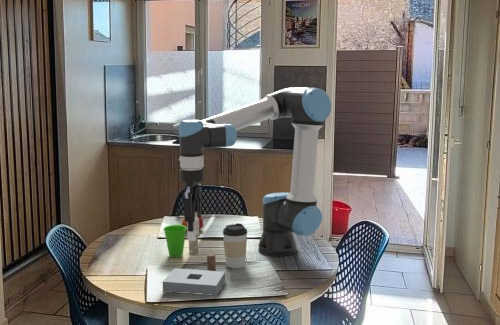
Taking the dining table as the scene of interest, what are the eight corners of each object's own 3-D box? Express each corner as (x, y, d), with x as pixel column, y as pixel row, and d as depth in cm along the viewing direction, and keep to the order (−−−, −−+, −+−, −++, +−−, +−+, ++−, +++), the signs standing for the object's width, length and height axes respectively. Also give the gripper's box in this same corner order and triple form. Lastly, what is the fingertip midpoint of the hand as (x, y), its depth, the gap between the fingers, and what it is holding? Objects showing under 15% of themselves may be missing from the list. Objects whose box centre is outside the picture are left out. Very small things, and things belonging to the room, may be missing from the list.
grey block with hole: (225, 281, 186) (225, 271, 185) (216, 295, 174) (216, 285, 173) (174, 277, 189) (174, 268, 188) (162, 291, 177) (162, 281, 177)
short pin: (216, 270, 196) (216, 254, 195) (214, 273, 193) (214, 257, 192) (208, 269, 196) (208, 253, 195) (206, 272, 194) (205, 256, 192)
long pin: (199, 252, 181) (198, 211, 178) (196, 255, 178) (195, 214, 175) (190, 251, 181) (189, 211, 179) (187, 254, 178) (186, 213, 176)
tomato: (179, 233, 239) (179, 215, 238) (185, 227, 248) (185, 210, 247) (200, 234, 238) (199, 216, 236) (205, 228, 247) (204, 211, 245)
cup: (183, 260, 206) (182, 232, 204) (160, 258, 208) (159, 230, 206) (190, 252, 215) (190, 225, 213) (168, 250, 217) (168, 224, 215)
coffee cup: (238, 271, 195) (238, 230, 192) (218, 266, 200) (217, 227, 197) (252, 263, 203) (252, 224, 200) (232, 259, 207) (231, 221, 205)
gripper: (188, 163, 183) (189, 230, 187) (172, 172, 167) (174, 245, 172) (209, 164, 182) (210, 232, 186) (195, 173, 166) (197, 247, 170)
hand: (193, 238), depth 179 cm, fingers closed on long pin, 3 cm apart
